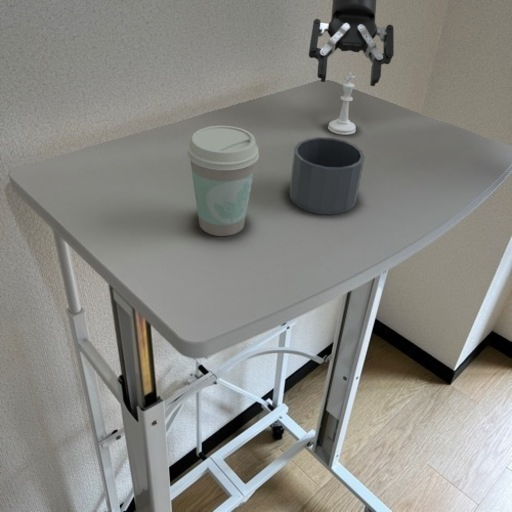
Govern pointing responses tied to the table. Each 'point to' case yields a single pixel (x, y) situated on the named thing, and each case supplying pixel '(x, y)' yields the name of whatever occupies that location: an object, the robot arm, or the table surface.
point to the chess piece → (344, 111)
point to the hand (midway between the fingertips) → (348, 82)
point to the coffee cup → (222, 176)
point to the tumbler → (325, 175)
